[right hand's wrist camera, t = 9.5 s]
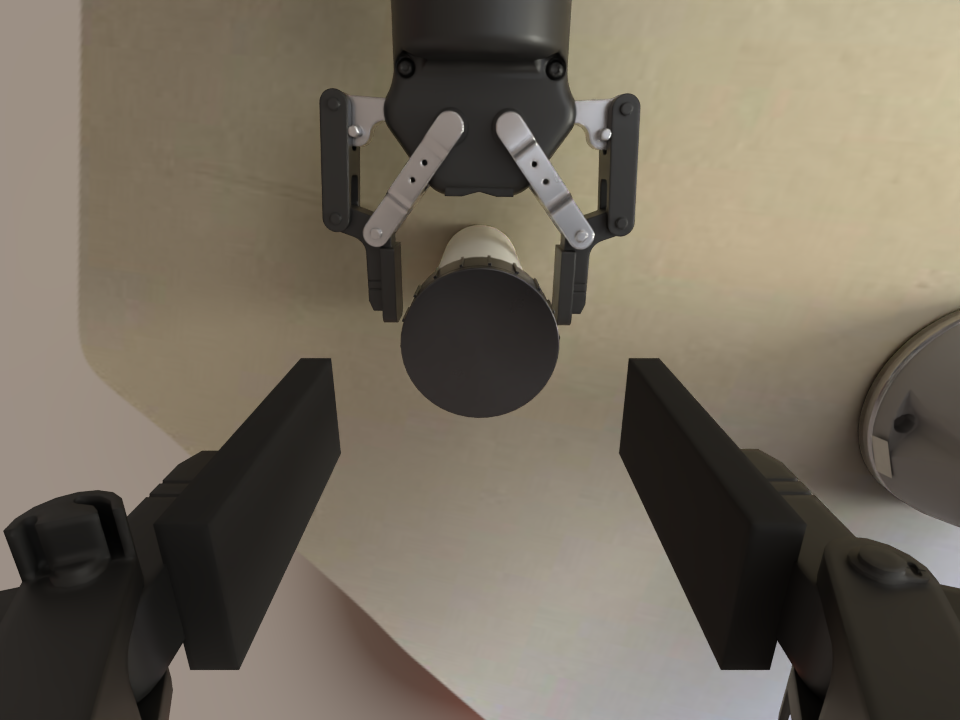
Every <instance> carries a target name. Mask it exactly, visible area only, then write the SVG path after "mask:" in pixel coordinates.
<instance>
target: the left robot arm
mask: <svg viewBox="0 0 960 720" xmlns="http://www.w3.org/2000/svg"><path fill="white" fill-rule="evenodd" d="M571 2H572V0H391V8H392V35H393V61H394V74H393V80H392V84H391V87H390V90H389V92H388V94H387V96H386V98H378V97H365V96H353V95H348V94H346V93H344V92H342V91H340V90H338V89H334V88H331V89H327V90H325V91H324V92H323V93H322V95H321V97H320V138H321V174H322V211H323V222H324V224H325V226H326V227H327V228H328V229H329V230H331V231H334V232H342V233H345V234H348V235H351V236H353V237H356V238H357V239H359V240H360V241H361V242H362V243H363V245H364V246H365V249H366V255H367V272H368V288H369V301H370V303H371V305H372V308H373V310H374V311H383V321H384V322H399V320H400V318H401V316H402V312H403V297H402V270H401V244H400V242H396V239H395V233H396V232H397V231H398V229H399V228H400V226H401V225H402V223H403V222H404V221H405V219H406V218H407V216H408V215H409V214H410V212H411V211H412V209H413V208H414V207H415V206H416V204H417V203H418V202H419V200H420V199H421V198H422V196H423V195H424V193H425V192H426V191H427V189H428V188H429V186H431V187H432V188H433V189H435V190H436V191H438V192H440V193H442V194H445V196H464V195H468V194H472V193H476V192H482V193H486V194H489V195H493V196H496V197H513V195H516V194H518V193H521V192H522V191H524V190H525V189H527V188H528V187H529V188H530V190H531V191H532V193H533V194H534V196H535V197H536V199H537V200H538V202H539V203H540V205H541V206H542V207H543V209H544V210H545V211H546V213H547V214H548V216H549V217H550V219H551V220H552V222H553V223H554V225H555V226H556V228H557V229H558V231H559V232H560V234H561V243H560V245H556V248H555V264H554V280H553V297H552V307H553V309H554V311H555V314H553V315H554V317H555V319H556V323H557V325H570V324H571V317H572V314H581V312H582V310H583V308H584V306H585V301H586V289H587V277H588V265H589V255H590V251H591V249H592V248H593V247H594V245H596V244H597V243H598V242H600V241H603V240H606V239H609V238H612V237H614V236H625V235H627V234H629V233H630V232H631V231H632V229H633V227H634V222H635V203H636V183H637V163H638V144H639V124H640V102H639V100H638V99H637V97H636V96H634V95H633V94H629V93H626V94H622V95H618V96H616V97H614V98H612V99H600V100H581V101H575V100H574V98H573V96H572V94H571V91H570V88H569V84H568V78H567V67H568V50H569V34H570V18H571ZM382 122H386V124H387V126H388V128H389V129H390V131H391V132H392V133H393V135H394V136H395V138H396V139H397V141H398V142H399V143H400V145H401V146H402V148H403V149H404V150H405V152H406V153H407V155H408V156H409V158H410V159H409V160H408V162H407V163H406V165H405V166H404V168H403V169H402V171H401V172H400V174H399V175H398V176H397V178H396V179H395V181H394V182H393V184H392V185H391V187H390V188H389V190H388V191H387V193H386V196H385V197H384V199H383V200H382V202H381V203H380V205H379V206H378V207H377V209H376V210H375V212H372V211H370V210H367V209H365V208H362V207H360V147H363V146H367V145H368V144H370V143H371V141H372V139H373V136H374V131H375V129H376V127H377V126H378V125H379V124H380V123H382ZM574 124H575V125H578V126H580V127H581V128H582V129H583V130H584V132H585V135H586V141H587V144H588V145H589V146H590V147H591V148H592V149H595V150H599V182H598V210H597V211H594V212H592V213H589V214H586V215H583V214H582V212H581V211H580V209H579V208H578V206H577V204H576V203H575V201H574V200H573V198H572V196H571V194H570V192H569V190H568V189H567V187H566V186H565V184H564V183H563V181H562V180H561V178H560V176H559V175H558V173H557V172H556V170H555V169H554V167H553V166H552V164H551V163H550V161H549V160H550V158H551V157H552V155H553V154H554V153H555V151H556V150H557V149H558V147H559V146H560V145H561V143H562V142H563V141H564V139H565V138H566V137H567V135H568V134H569V132H570V131H571V130H572V128H573V126H574Z"/></svg>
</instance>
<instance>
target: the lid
mask: <svg viewBox="0 0 960 720" xmlns="http://www.w3.org/2000/svg"><path fill="white" fill-rule="evenodd" d="M413 297H414V299H413V302H412V304H411V306H410V307H408V309H407V311H406V313H405V315H404V317H403V320H402V322H404V323H403V327H402V332H401V345H400V346H401V354H402V358H403V362H404V365H405V368H406V371H407V373H408V375H409V377H410V379H411V381H412V382H413V383H414V385H415V386H416V388H417V389H418V390H419V391H420V392H421V393H422V394H423V395H424V396H425V397H426V398H427V399H428V400H430V401H431V402H432V403H434V404H435V405H437V406H438V407H440V408H442V409H444V410H446V411H448V412H451V413H454V414H457V415H461V416H466V417H474V418H487V417H494V416H499V415H503V414H506V413H509V412H511V411H514V410H516V409H518V408H520V407H522V406H523V405H525V404H526V403H528V402H529V401H530V400H532V399H533V398H534V397H535V396H536V395H537V394H538V393H539V392H540V391H541V390H542V389H543V387H544V386H545V385H546V383H547V382H548V380H549V379H550V377H551V375H552V373H553V371H554V368H555V365H556V362H557V359H558V353H559V339H560V336H559V332H558V327H557V323H556V319H555V317H554V315H553V314H555V311H554V309H553V307H552V305H551V303H550V301H549V300H547V299H546V297H545V295H544V293H543V292H542V290H541V288H540V286H539V284H538V282H537V280H536V279H535V278H534V279H532V278H531V277H530V276H529V275H528V274H527V273H526V272H524V271H523V270H522V269H520V268H519V267H517V265H516V263H513V264H511V263H509V262H506V261H504V260H501V259H496V258H492V257H491V255H488V257H469V258H464V257H461V259H460V260H456V261H453V262H451V263H449V264H447V265H445V266H443V267H441V268H440V267H438V268H436V271H435V272H434V273H433V274H432V275H431V276H429V277H428V279H427V280H426V281H425V282H424V283H423V284H422V286H421V285H419V286H418V288H417V290H416V292H415V294H414V296H413Z"/></svg>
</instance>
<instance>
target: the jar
mask: <svg viewBox="0 0 960 720" xmlns="http://www.w3.org/2000/svg"><path fill="white" fill-rule="evenodd" d="M488 255H491V257H492V258H496V259H501V260H504V261H506V262H509V263H511V264H513V263H516V265H517V267H519V268H520V269H522V267H521V264H520V261H519V259H518V256H517V254H516V251H515V248H514V246H513V244H512V242H511V241H510V240H509V238H508V237H507V236H506V235H505V234H504V233H503V232H501V231H500V230H498V229H496V228H494V227H491V226H487V225H473V226H469V227H466V228H464V229H462V230H460V231H459V232H457V233H456V234H455V235H454V236H453V237H452V238H451V239H450V241H449V242H448V244H447V246H446V248H445V251H444V254H443V256H442V259H441V261H440V264H439V267H440V268H441V267H443V266H445V265H447V264H449V263H451V262H453V261H456V260H460V259H461V257H464V258H469V257H488ZM522 270H523V269H522Z"/></svg>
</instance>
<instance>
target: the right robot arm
mask: <svg viewBox="0 0 960 720" xmlns="http://www.w3.org/2000/svg"><path fill="white" fill-rule="evenodd" d="M858 436H859V446H860V450H861V454H862V457H863V460H864V462H865V464H866V466H867V468H868V470H869V471H870V473H871V474H872V476H873V477H874V478H875V479H876V480H877V481H878V482H879V483H880V484H881V485H882V486H883V487H884V488H886V489H887V490H888V491H889V492H891V493H892V494H893V495H894V496H895V497H897V498H898V499H900V500H901V501H903V502H904V503H906V504H908V505H909V506H911V507H913V508H914V509H916V510H918V511H920V512H922V513H924V514H927V515H929V516H932V517H934V518H937V519H939V520H942V521H945V522H947V523H950V524H953V525H955V526H958V527H960V310H958V311H955V312H953V313H951V314H949V315H946V316H944V317H942V318H941V319H939V320H937V321H935V322H933V323H932V324H930V325H929V326H927V327H926V328H924V329H923V330H921V331H920V332H918V333H917V334H916V335H914V336H913V337H912V338H911V339H909V340H908V341H907V342H906V343H905V344H904V345H903V346H902V347H900V349H899V350H898V351H897V352H896V353H895V354H894V355H893V356H892V357H891V358H890V359H889V360H888V362H887V363H886V364H885V365H884V367H883V368H882V369H881V371H880V372H879V374H878V375H877V377H876V378H875V380H874V382H873V384H872V385H871V387H870V389H869V392H868V394H867V396H866V398H865V401H864V404H863V407H862V411H861V415H860V421H859V434H858ZM340 454H341V450H340V440H339V430H338V420H337V411H336V401H335V391H334V382H333V372H332V362H331V358H301V359H300V360H299V361H298V362H297V363H296V364H295V366H294V367H293V368H292V369H291V370H290V371H289V372H288V373H287V375H286V376H285V377H284V378H283V379H282V380H281V381H280V382H279V383H278V385H277V386H276V387H275V388H274V389H273V390H272V391H271V392H270V394H269V395H268V396H267V397H266V398H265V399H264V400H263V401H262V403H261V404H260V405H259V406H258V407H257V408H256V409H255V410H254V412H253V413H252V414H251V415H250V416H249V417H248V418H247V419H246V420H245V422H244V423H243V424H242V425H241V426H240V427H239V428H238V429H237V431H236V432H235V433H234V434H233V435H232V436H231V437H230V438H229V440H228V441H227V442H226V443H225V444H224V445H223V446H222V447H221V449H220V450H219V451H201V452H199V453H197V454H196V455H194V456H192V457H190V458H189V459H187V460H185V461H184V462H182V463H180V464H178V465H177V466H176V467H175V469H173V470H172V472H171V473H170V474H169V475H168V476H167V477H166V478H165V479H164V480H163V483H162V484H159V485H158V486H157V487H156V488H155V489H154V490H153V491H152V492H151V493H150V496H149V497H146V498H145V499H144V500H143V501H142V502H141V503H140V504H139V505H138V506H137V507H136V508H135V509H134V510H133V511H132V512H131V513H130V514H129V515H128V516H127V515H126V512H125V508H124V505H123V501H122V498H121V497H119V496H118V495H116V494H115V493H113V492H107V491H100V490H95V491H85V492H77V493H73V494H69V495H65V496H61V497H58V498H55V499H52V500H50V501H47V502H45V503H43V504H40V505H38V506H35V507H33V508H32V509H30V510H28V511H27V512H25V513H24V514H22V515H20V516H19V517H17V518H16V519H14V520H13V522H12V523H11V524H10V525H9V526H8V527H7V528H6V529H5V530H4V534H5V537H6V540H7V542H8V545H9V547H10V550H11V553H12V556H13V558H14V561H15V563H16V566H17V569H18V571H19V574H20V577H21V580H22V583H21V585H20V587H18V588H13V589H8V590H3V591H0V720H169V713H170V706H171V699H172V692H173V688H172V681H171V676H170V672H169V668H168V666H169V665H170V663H171V661H172V660H173V658H174V656H175V655H176V653H177V652H178V650H179V648H180V647H181V645H182V643H183V644H184V647H185V651H186V655H187V659H188V663H189V667H190V670H239V669H240V667H241V664H242V662H243V660H244V658H245V656H246V654H247V652H248V650H249V648H250V645H251V643H252V641H253V639H254V637H255V635H256V633H257V631H258V628H259V626H260V624H261V622H262V620H263V618H264V616H265V614H266V611H267V609H268V607H269V605H270V603H271V601H272V599H273V596H274V594H275V592H276V590H277V588H278V586H279V584H280V582H281V580H282V577H283V575H284V573H285V571H286V569H287V567H288V565H289V563H290V560H291V558H292V556H293V554H294V552H295V550H296V548H297V545H298V543H299V541H300V539H301V537H302V535H303V533H304V531H305V528H306V526H307V524H308V522H309V520H310V518H311V516H312V514H313V511H314V509H315V507H316V505H317V503H318V501H319V499H320V497H321V494H322V492H323V490H324V488H325V486H326V484H327V482H328V480H329V477H330V475H331V473H332V471H333V469H334V467H335V465H336V463H337V460H338V458H339V456H340ZM619 454H620V456H621V458H622V460H623V463H624V465H625V467H626V469H627V471H628V473H629V475H630V477H631V480H632V482H633V484H634V486H635V488H636V490H637V492H638V494H639V497H640V499H641V501H642V503H643V505H644V507H645V509H646V511H647V514H648V516H649V518H650V520H651V522H652V524H653V526H654V528H655V531H656V533H657V535H658V537H659V539H660V541H661V543H662V546H663V548H664V550H665V552H666V554H667V556H668V558H669V560H670V563H671V565H672V567H673V569H674V571H675V573H676V575H677V577H678V580H679V582H680V584H681V586H682V588H683V590H684V592H685V594H686V597H687V599H688V601H689V603H690V605H691V607H692V609H693V611H694V614H695V616H696V618H697V620H698V622H699V624H700V626H701V628H702V631H703V633H704V635H705V637H706V639H707V641H708V643H709V645H710V648H711V650H712V652H713V654H714V656H715V658H716V660H717V662H718V665H719V667H720V669H721V670H770V667H771V663H772V659H773V655H774V651H775V647H776V644H777V640H778V642H779V644H780V645H781V647H782V649H783V650H784V652H785V653H786V655H787V657H788V658H789V660H790V662H791V663H792V668H791V672H790V676H789V679H788V683H787V686H786V690H785V694H784V697H783V701H782V705H781V708H780V712H779V718H778V720H788V718H789V715H790V714H791V719H792V720H960V588H955V587H950V586H945V585H941V584H939V582H938V581H937V579H936V578H935V577H934V576H933V575H932V573H931V572H930V571H929V570H928V568H927V567H925V566H924V565H922V564H921V563H920V562H918V561H917V560H916V559H914V558H913V557H911V556H910V555H908V554H906V553H904V552H902V551H900V550H898V549H896V548H894V547H892V546H890V545H887V544H884V543H880V542H877V541H874V540H870V539H866V538H857V537H855V536H854V535H853V534H852V533H851V532H850V531H849V530H848V529H847V528H846V527H845V526H844V525H843V524H842V523H841V522H840V521H839V520H838V519H837V518H836V517H835V516H834V515H833V514H832V513H831V512H830V511H829V510H828V509H827V508H826V507H825V506H824V504H823V503H822V502H821V501H820V500H819V499H818V498H817V497H816V496H815V495H811V491H810V490H809V489H808V488H807V487H806V486H805V485H804V484H803V483H802V482H798V478H797V477H796V476H795V475H794V474H793V473H792V472H791V471H790V470H789V469H788V468H787V467H786V466H785V465H784V464H783V463H782V462H780V461H778V460H777V459H775V458H773V457H771V456H770V455H768V454H766V453H764V452H763V451H761V450H759V449H739V447H738V446H737V445H736V444H735V443H734V442H733V441H732V440H731V438H730V437H729V436H728V435H727V434H726V433H725V432H724V431H723V429H722V428H721V427H720V426H719V425H718V424H717V423H716V422H715V420H714V419H713V418H712V417H711V416H710V415H709V414H708V413H707V412H706V410H705V409H704V408H703V407H702V406H701V405H700V404H699V403H698V401H697V400H696V399H695V398H694V397H693V396H692V395H691V394H690V392H689V391H688V390H687V389H686V388H685V387H684V386H683V385H682V383H681V382H680V381H679V380H678V379H677V378H676V377H675V376H674V375H673V373H672V372H671V371H670V370H669V369H668V368H667V367H666V366H665V364H664V363H663V362H662V361H661V360H660V359H659V358H629V362H628V372H627V382H626V391H625V401H624V411H623V420H622V430H621V440H620V450H619Z"/></svg>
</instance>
